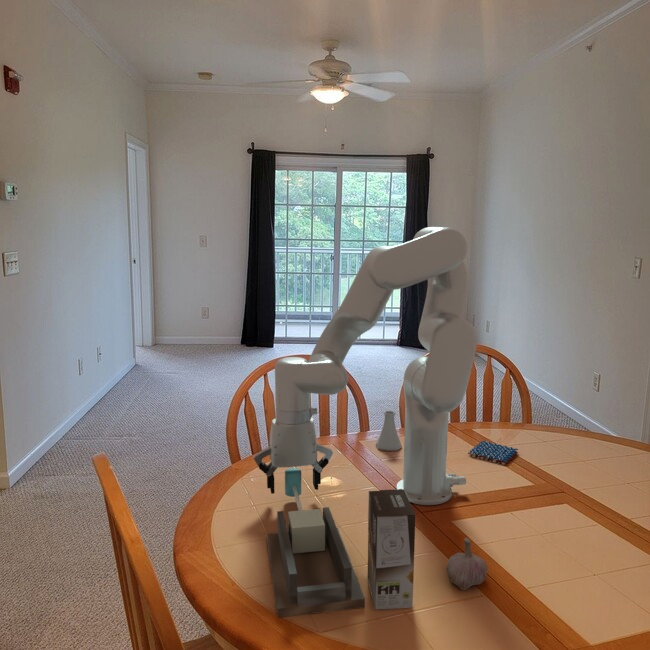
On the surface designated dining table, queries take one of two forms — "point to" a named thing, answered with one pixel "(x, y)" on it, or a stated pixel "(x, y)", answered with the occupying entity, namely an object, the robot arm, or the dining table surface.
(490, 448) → the woven mat
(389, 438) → the flask
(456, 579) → the garlic bulb
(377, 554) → the coffee box
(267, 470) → the robot arm
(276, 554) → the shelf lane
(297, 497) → the cube with teal knob
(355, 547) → the dining table surface
